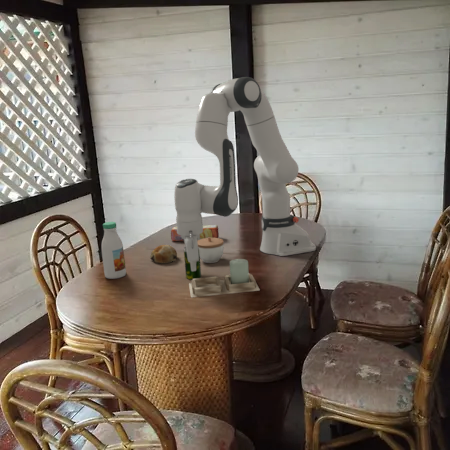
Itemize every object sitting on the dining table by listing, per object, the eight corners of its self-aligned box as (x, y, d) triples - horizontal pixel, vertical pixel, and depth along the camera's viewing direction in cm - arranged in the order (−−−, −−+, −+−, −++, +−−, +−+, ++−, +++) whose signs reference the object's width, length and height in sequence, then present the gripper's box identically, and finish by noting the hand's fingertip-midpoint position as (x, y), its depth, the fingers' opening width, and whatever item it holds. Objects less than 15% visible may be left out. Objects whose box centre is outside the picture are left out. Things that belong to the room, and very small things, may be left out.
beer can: (193, 275, 169) (191, 243, 166) (204, 278, 166) (202, 246, 163) (182, 280, 165) (180, 247, 162) (194, 283, 162) (191, 250, 159)
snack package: (170, 242, 212) (169, 228, 210) (174, 238, 218) (173, 224, 217) (217, 242, 209) (216, 227, 207) (219, 237, 215) (218, 223, 214)
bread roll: (168, 273, 184) (175, 255, 182) (145, 262, 185) (151, 244, 182) (176, 264, 194) (182, 247, 191) (153, 254, 194) (160, 237, 192)
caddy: (253, 280, 162) (252, 271, 161) (260, 293, 151) (259, 284, 150) (189, 286, 160) (188, 277, 159) (191, 300, 148) (190, 291, 147)
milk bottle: (107, 281, 169) (101, 227, 164) (102, 274, 176) (96, 222, 171) (128, 276, 172) (122, 223, 167) (123, 270, 179) (117, 219, 174)
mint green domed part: (247, 280, 159) (246, 258, 157) (250, 287, 153) (249, 264, 151) (229, 282, 158) (228, 259, 156) (232, 289, 152) (231, 265, 150)
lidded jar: (229, 261, 183) (228, 237, 181) (205, 267, 178) (203, 243, 175) (216, 254, 192) (214, 232, 190) (192, 259, 187) (190, 237, 184)
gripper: (201, 234, 151) (204, 275, 155) (196, 219, 171) (199, 256, 174) (181, 236, 151) (185, 277, 154) (179, 221, 170) (182, 257, 174)
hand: (192, 265), depth 164 cm, fingers open, 8 cm apart
